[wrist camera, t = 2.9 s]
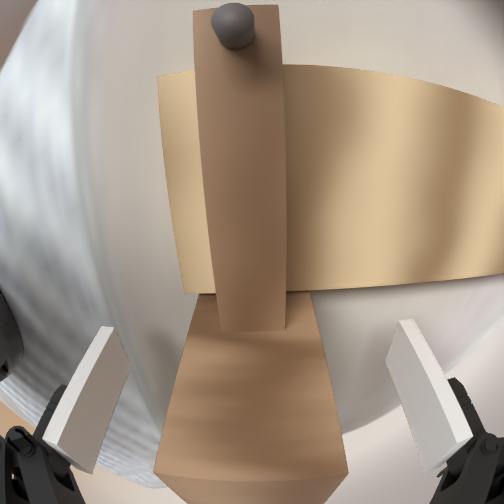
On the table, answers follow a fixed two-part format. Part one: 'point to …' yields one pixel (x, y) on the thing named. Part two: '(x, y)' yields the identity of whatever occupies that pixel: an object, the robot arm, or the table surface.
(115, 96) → the table surface
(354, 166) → the board
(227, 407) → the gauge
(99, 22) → the table surface
